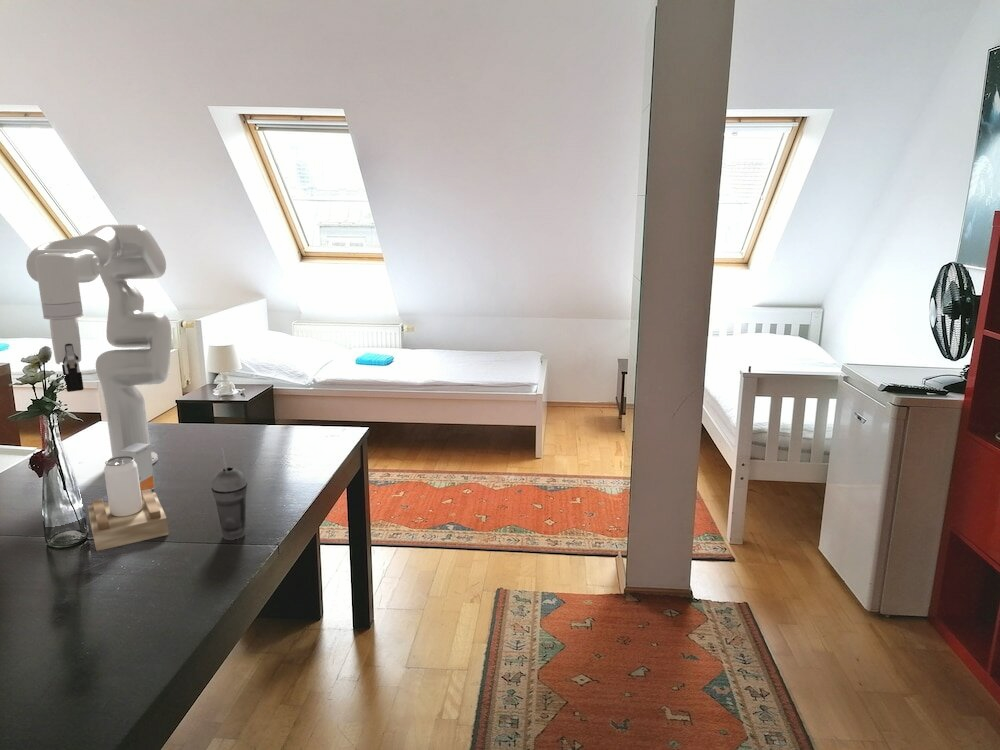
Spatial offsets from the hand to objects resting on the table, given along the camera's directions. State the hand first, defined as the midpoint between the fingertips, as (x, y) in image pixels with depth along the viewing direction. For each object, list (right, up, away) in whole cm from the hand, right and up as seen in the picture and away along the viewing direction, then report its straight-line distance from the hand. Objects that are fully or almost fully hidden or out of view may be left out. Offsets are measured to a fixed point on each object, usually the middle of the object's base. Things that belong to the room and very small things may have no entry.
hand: (73, 385), depth 164 cm
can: (+13, -28, -2) cm, 31 cm away
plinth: (+13, -32, -1) cm, 34 cm away
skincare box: (+6, -27, +18) cm, 33 cm away
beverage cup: (+38, -33, -4) cm, 50 cm away
